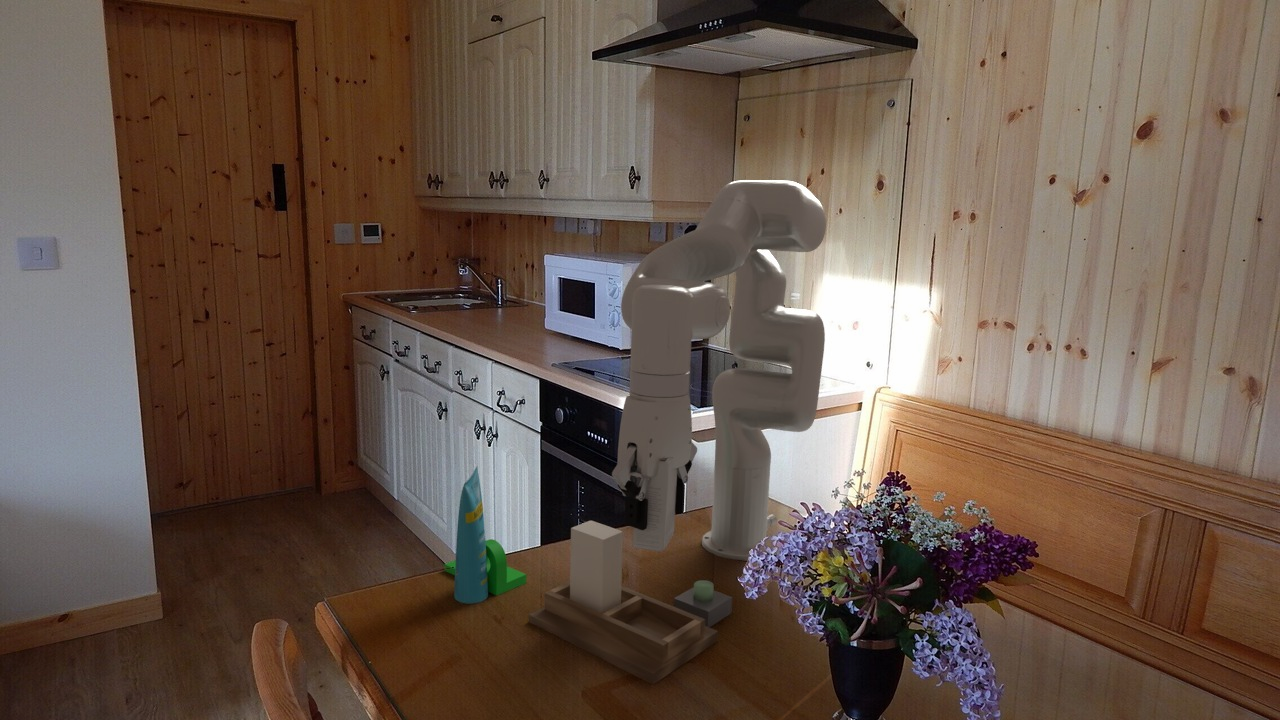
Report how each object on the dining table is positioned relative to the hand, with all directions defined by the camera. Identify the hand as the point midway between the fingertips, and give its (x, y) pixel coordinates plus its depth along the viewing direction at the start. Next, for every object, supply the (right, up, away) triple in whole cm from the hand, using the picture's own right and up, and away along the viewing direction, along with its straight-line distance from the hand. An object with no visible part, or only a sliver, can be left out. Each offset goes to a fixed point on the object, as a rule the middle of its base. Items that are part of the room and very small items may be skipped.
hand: (654, 517), depth 107 cm
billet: (-8, -15, +9) cm, 19 cm away
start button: (+7, -14, +12) cm, 20 cm away
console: (+7, -16, +12) cm, 22 cm away
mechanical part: (-26, -14, +21) cm, 36 cm away
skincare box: (0, -3, +1) cm, 4 cm away
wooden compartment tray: (-4, -17, +6) cm, 19 cm away
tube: (-27, -15, +15) cm, 34 cm away
